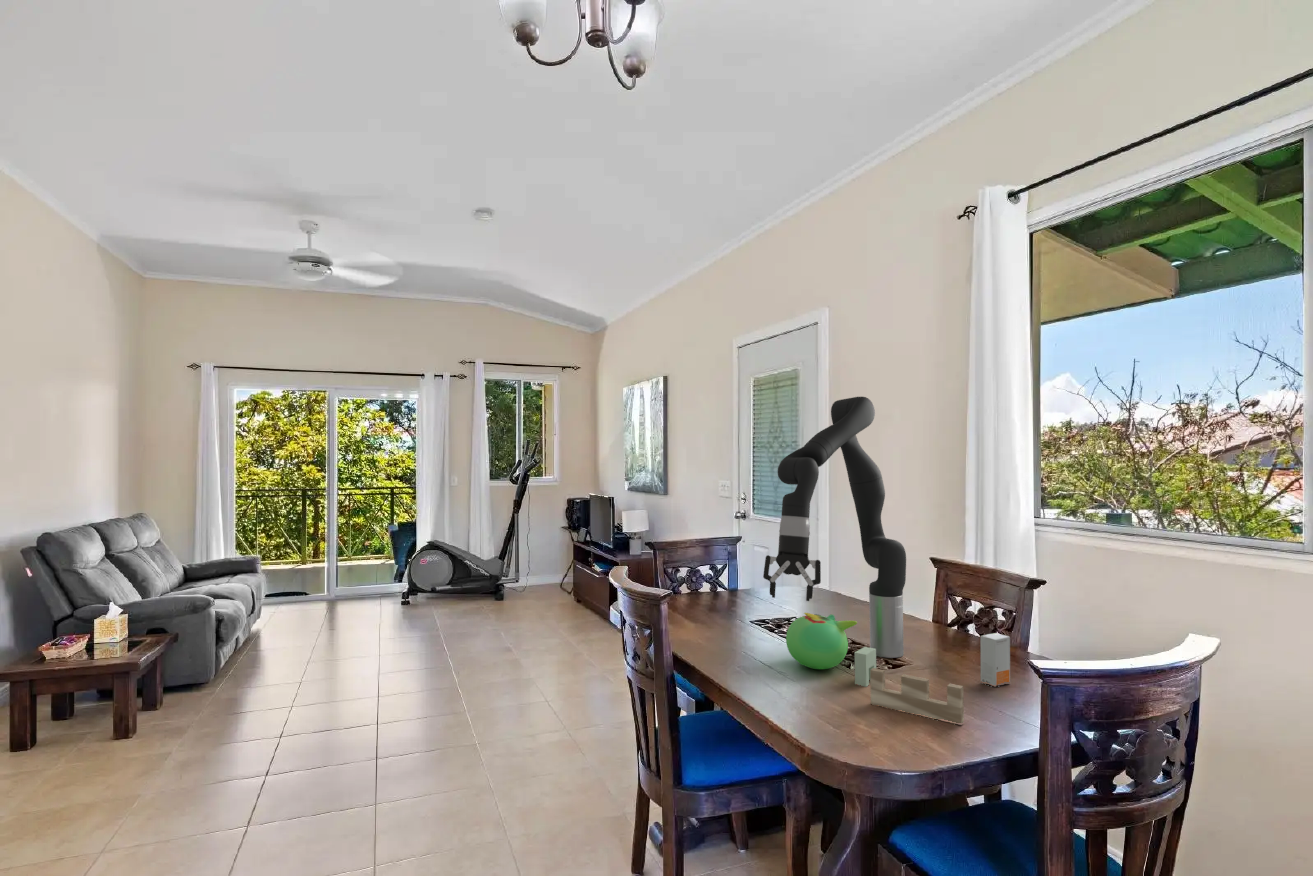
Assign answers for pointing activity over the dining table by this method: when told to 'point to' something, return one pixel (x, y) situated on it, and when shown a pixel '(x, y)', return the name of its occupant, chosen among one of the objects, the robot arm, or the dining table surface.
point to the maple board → (917, 697)
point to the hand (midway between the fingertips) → (790, 599)
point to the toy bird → (818, 640)
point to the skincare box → (995, 658)
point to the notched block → (864, 665)
